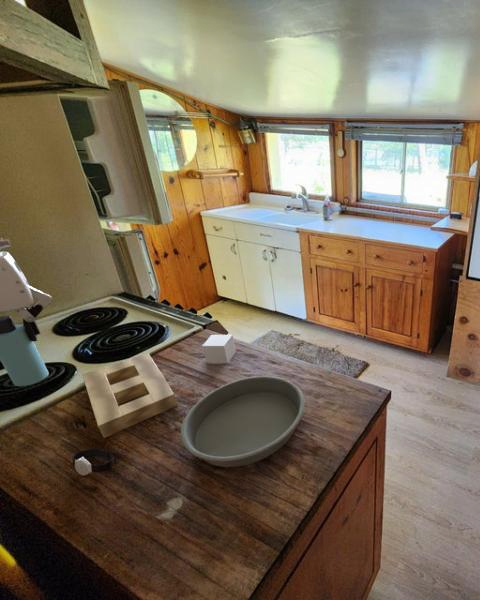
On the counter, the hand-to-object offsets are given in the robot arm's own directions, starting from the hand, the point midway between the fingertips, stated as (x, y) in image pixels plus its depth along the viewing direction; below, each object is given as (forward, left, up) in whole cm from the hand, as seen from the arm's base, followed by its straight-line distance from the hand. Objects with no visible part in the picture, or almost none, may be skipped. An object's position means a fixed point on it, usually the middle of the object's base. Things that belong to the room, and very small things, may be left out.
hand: (13, 342), depth 61 cm
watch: (+4, -17, -22) cm, 28 cm away
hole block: (+13, +2, -22) cm, 26 cm away
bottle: (0, 0, -8) cm, 8 cm away
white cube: (+35, +4, -22) cm, 41 cm away
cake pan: (+29, -28, -22) cm, 46 cm away
